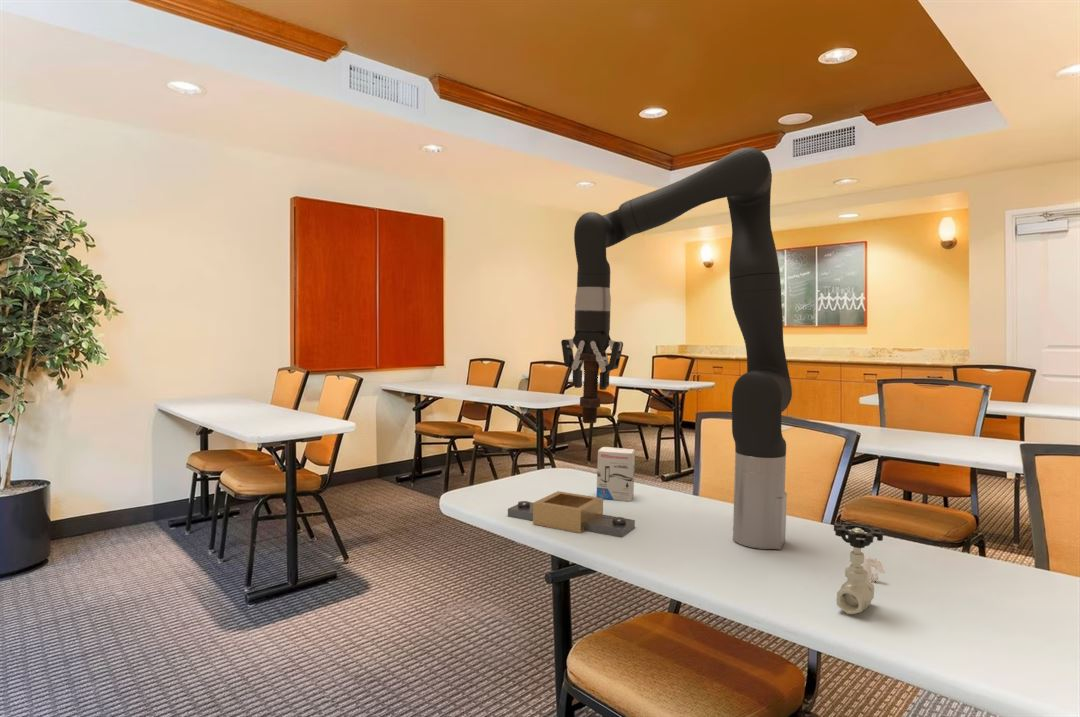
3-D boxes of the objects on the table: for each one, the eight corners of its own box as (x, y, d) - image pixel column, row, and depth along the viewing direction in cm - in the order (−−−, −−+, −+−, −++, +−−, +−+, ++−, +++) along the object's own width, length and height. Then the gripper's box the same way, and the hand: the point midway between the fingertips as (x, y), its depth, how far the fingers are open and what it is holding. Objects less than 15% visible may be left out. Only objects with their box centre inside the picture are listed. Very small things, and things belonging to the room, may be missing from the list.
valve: (885, 608, 92) (888, 528, 92) (873, 623, 87) (876, 539, 87) (838, 595, 97) (840, 518, 96) (824, 609, 92) (826, 528, 91)
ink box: (595, 498, 151) (596, 450, 150) (599, 493, 155) (600, 446, 155) (631, 501, 148) (632, 452, 147) (634, 496, 153) (635, 448, 152)
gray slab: (555, 513, 138) (555, 502, 138) (539, 522, 132) (539, 510, 131) (524, 508, 142) (524, 497, 141) (507, 516, 136) (507, 505, 135)
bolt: (601, 425, 131) (604, 354, 130) (577, 424, 132) (580, 353, 131) (600, 421, 137) (603, 352, 136) (577, 420, 137) (579, 352, 136)
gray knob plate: (634, 527, 129) (634, 516, 128) (621, 537, 122) (621, 525, 122) (594, 520, 133) (595, 509, 133) (580, 529, 127) (580, 517, 127)
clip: (885, 583, 102) (885, 560, 101) (880, 586, 100) (881, 562, 100) (853, 573, 105) (854, 551, 105) (848, 576, 104) (849, 554, 104)
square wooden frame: (602, 518, 134) (603, 498, 134) (580, 533, 125) (580, 510, 124) (557, 511, 140) (557, 491, 139) (532, 524, 130) (533, 502, 130)
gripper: (631, 310, 132) (628, 389, 133) (571, 309, 140) (569, 384, 141) (616, 309, 126) (613, 392, 127) (554, 308, 133) (552, 387, 134)
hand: (590, 388), depth 134 cm, fingers closed on bolt, 5 cm apart
